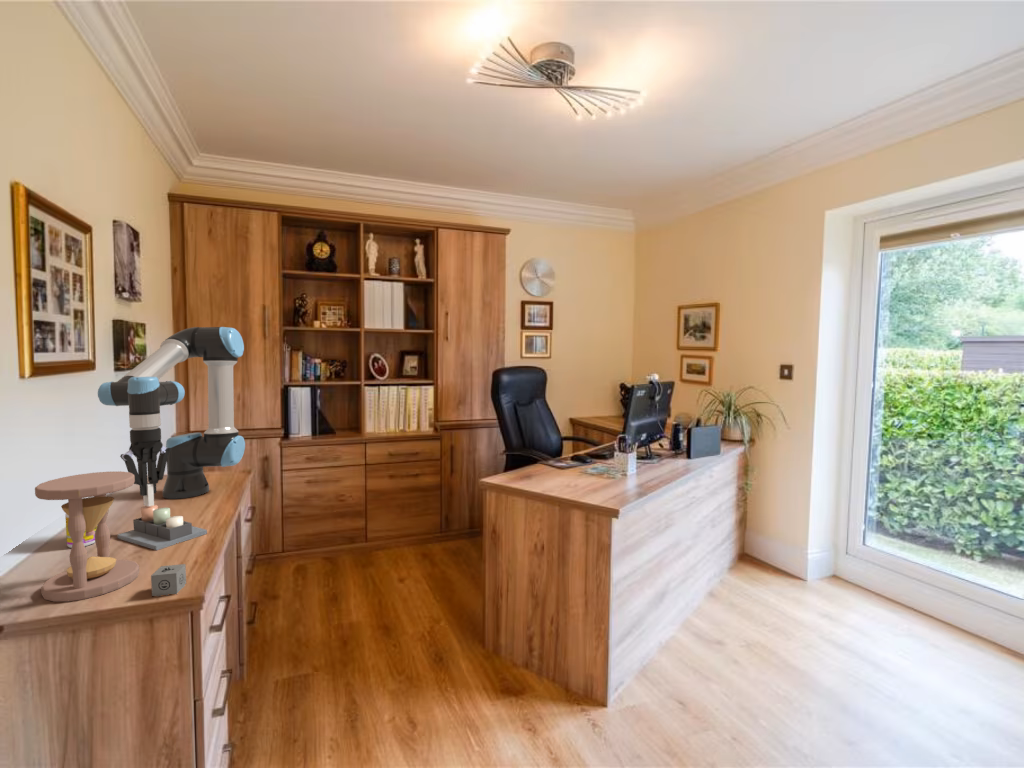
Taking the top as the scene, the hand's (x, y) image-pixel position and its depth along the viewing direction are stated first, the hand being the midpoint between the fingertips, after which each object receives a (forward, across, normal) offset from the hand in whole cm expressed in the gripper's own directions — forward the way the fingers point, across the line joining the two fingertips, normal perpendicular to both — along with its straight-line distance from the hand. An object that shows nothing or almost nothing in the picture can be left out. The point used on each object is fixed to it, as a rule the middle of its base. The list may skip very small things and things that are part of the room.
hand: (148, 505), depth 149 cm
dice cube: (+9, +19, +44) cm, 49 cm away
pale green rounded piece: (+5, 0, +6) cm, 8 cm away
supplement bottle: (+9, +14, -8) cm, 18 cm away
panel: (+9, 0, +6) cm, 11 cm away
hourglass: (+9, +25, +24) cm, 36 cm away
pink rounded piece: (+5, 0, 0) cm, 5 cm away
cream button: (+7, 0, +13) cm, 14 cm away
